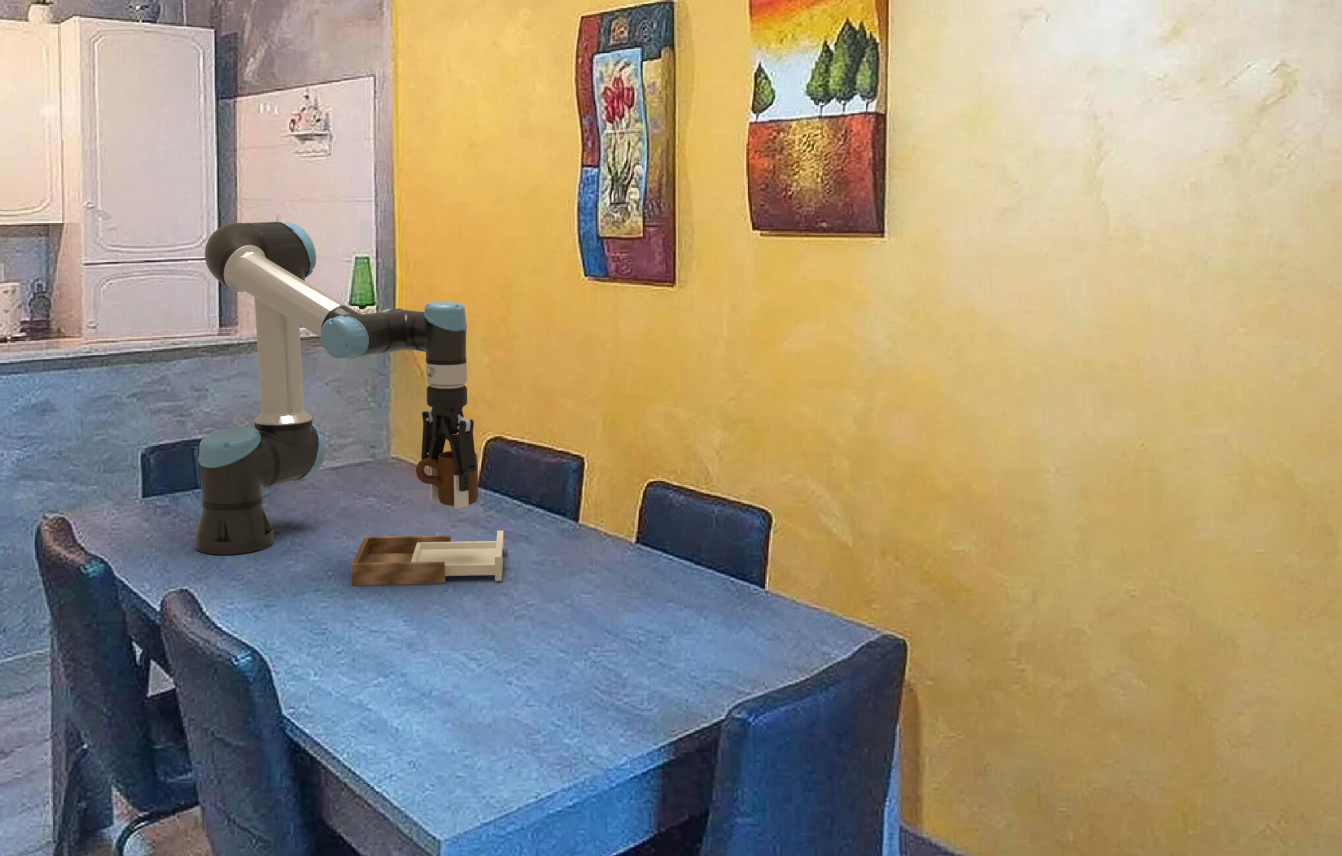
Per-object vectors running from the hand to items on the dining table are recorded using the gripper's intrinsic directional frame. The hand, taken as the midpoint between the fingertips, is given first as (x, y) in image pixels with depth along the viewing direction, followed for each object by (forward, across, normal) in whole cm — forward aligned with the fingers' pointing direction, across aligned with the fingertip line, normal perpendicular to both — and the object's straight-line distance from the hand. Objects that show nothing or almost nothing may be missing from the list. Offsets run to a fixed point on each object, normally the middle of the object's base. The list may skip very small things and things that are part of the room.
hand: (449, 502), depth 230 cm
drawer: (+13, +1, +2) cm, 13 cm away
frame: (+13, -5, -6) cm, 15 cm away
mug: (0, -1, 0) cm, 1 cm away
